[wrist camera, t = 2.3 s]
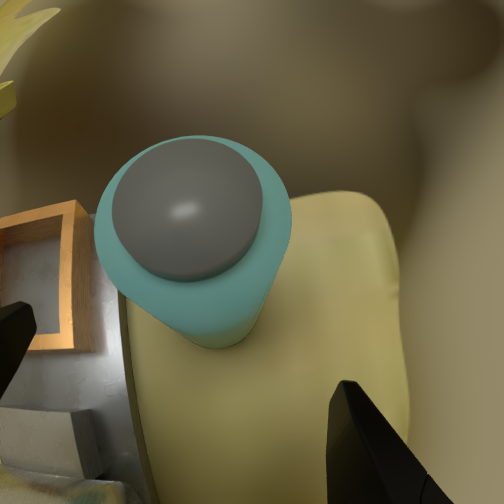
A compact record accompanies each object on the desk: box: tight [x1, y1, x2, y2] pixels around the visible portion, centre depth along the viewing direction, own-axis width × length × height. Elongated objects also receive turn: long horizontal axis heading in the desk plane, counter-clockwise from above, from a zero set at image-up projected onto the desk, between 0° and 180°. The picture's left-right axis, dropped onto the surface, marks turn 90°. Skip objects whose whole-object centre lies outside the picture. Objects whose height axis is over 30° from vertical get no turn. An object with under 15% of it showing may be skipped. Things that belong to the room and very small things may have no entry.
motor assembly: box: [0, 200, 159, 504], centre depth 12 cm, size 23×11×8 cm, turn 10°
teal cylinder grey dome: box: [94, 136, 292, 349], centre depth 13 cm, size 5×5×12 cm
